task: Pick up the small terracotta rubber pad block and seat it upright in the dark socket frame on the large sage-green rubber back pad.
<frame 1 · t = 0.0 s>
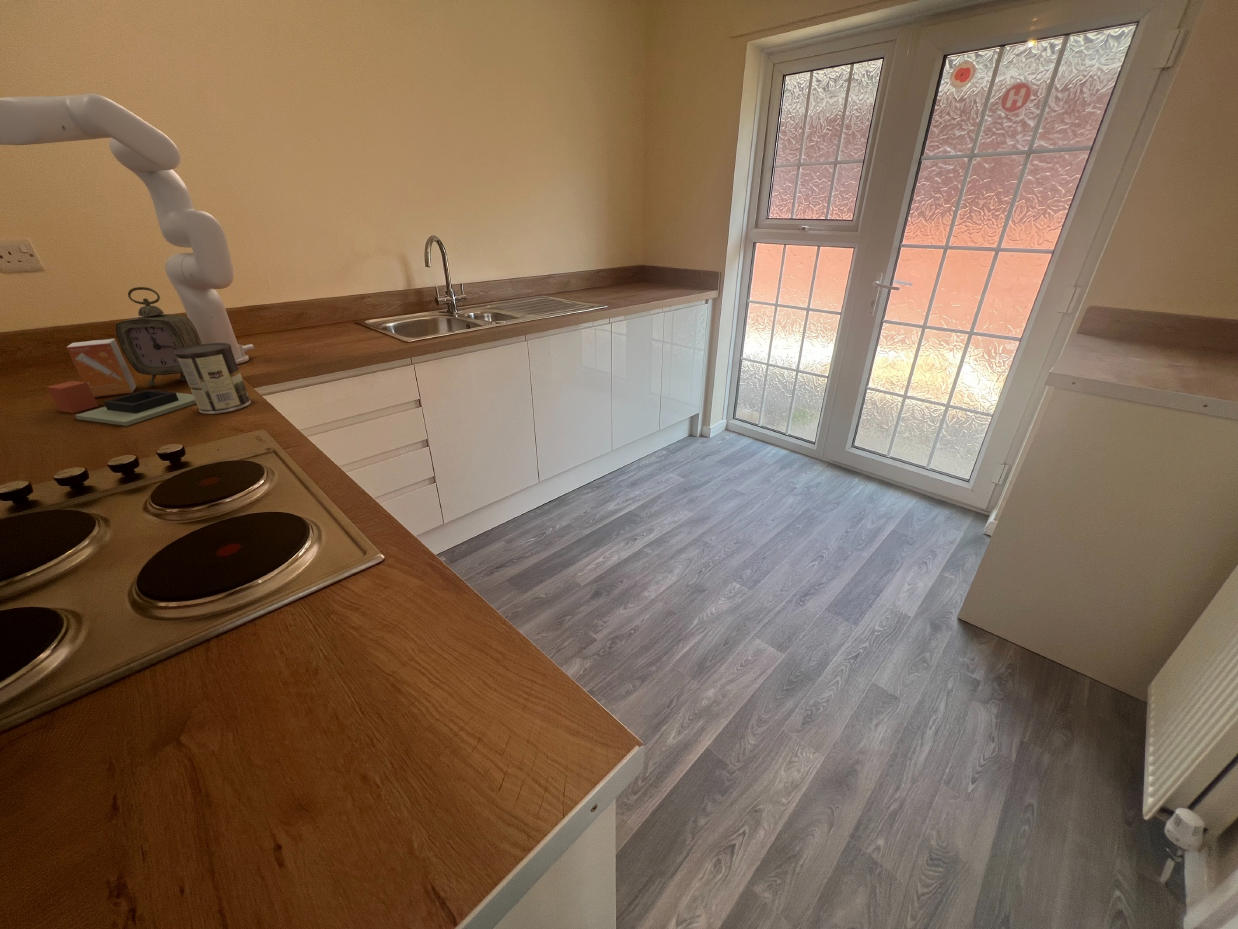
small box: (115, 393, 130), on the counter
pad block: (79, 408, 119), on the counter
coffee can: (225, 407, 119), on the counter
back pad: (145, 409, 119), on the counter
tabletop clock: (181, 383, 138), on the counter
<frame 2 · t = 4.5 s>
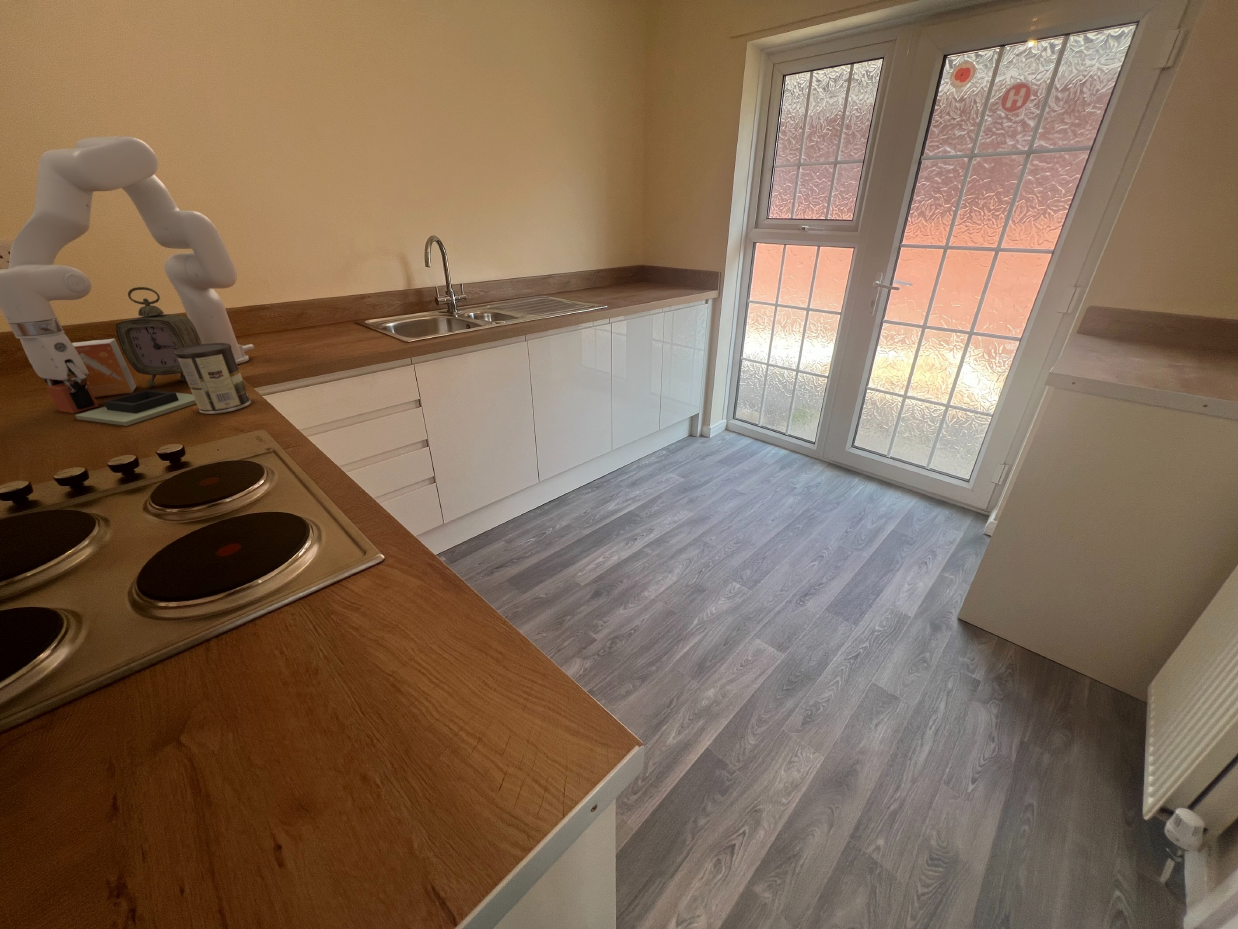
hand: (77, 405, 119), 1 cm above the counter, tool pointing down, fingers closed on pad block, 5 cm apart
pad block: (79, 408, 119), on the counter, touching gripper
everything else where it was.
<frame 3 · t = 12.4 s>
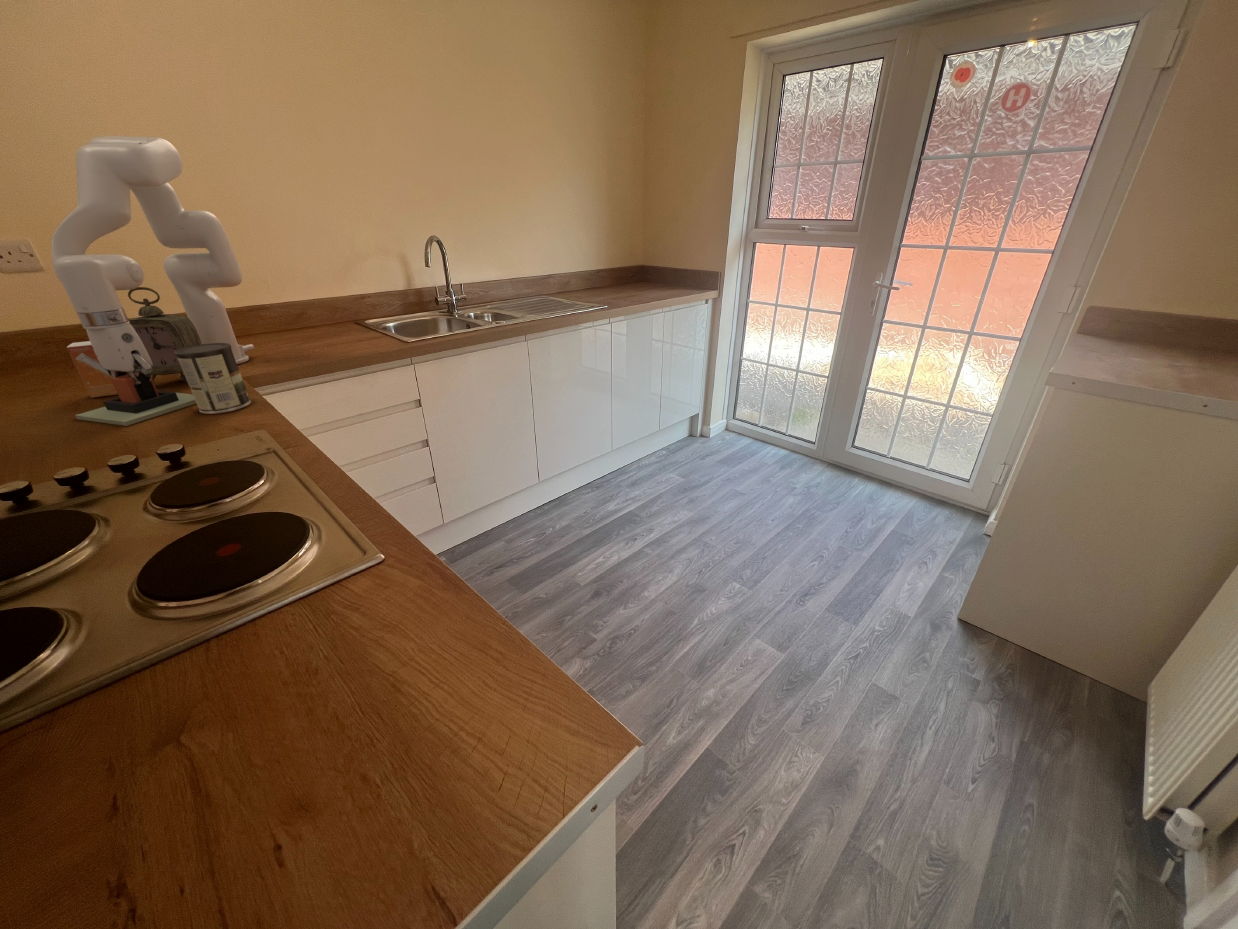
hand: (140, 397, 117), 3 cm above the counter, tool pointing down, fingers closed on pad block, 5 cm apart
pad block: (141, 401, 118), point 2 cm above the counter, touching gripper
everything else where it was.
when the fingers open (3 cm above the counter, at t = 18.6 s): pad block drops 2 cm, resting on back pad.
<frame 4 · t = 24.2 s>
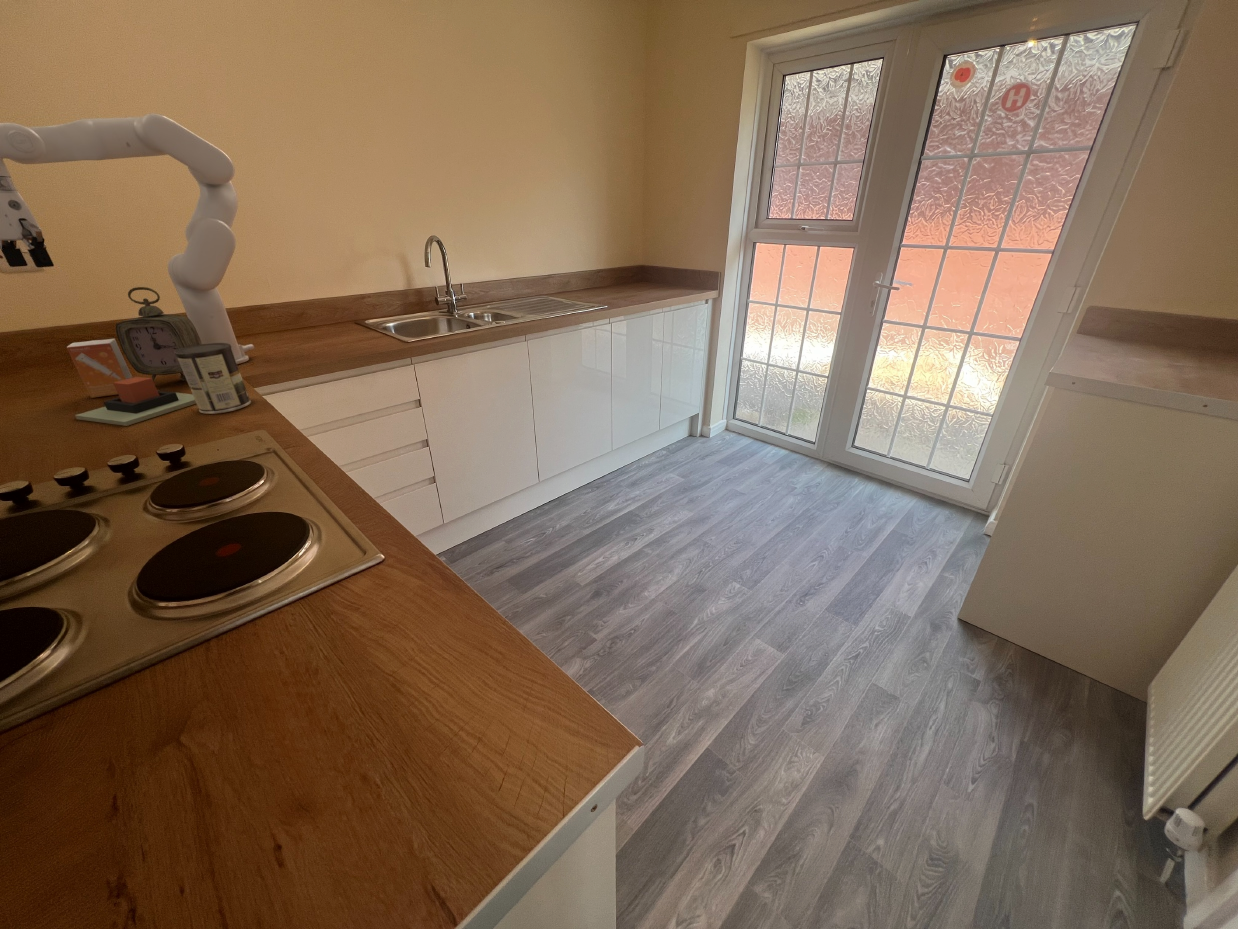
hand: (32, 266, 121), 30 cm above the counter, tool pointing down, fingers open, 9 cm apart
pad block: (144, 404, 118), point 1 cm above the counter, touching back pad
everything else where it was.
at the end: pad block 0.1 cm off-centre on the back pad, point 1.0 cm above the back pad's base; pad block tilted 0°; the gripper is holding nothing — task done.
